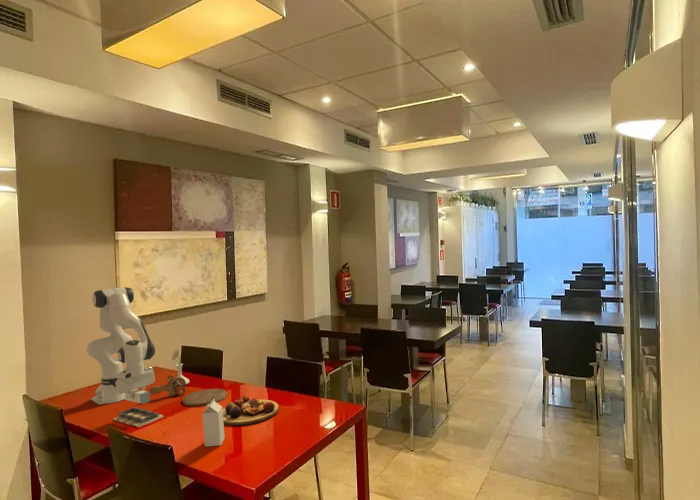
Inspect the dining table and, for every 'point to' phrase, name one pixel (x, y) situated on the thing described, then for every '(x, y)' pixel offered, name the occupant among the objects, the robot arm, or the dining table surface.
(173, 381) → the toy cannon
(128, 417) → the tray
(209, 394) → the trivet
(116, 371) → the robot arm
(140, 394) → the white rectangular block
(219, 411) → the milk carton
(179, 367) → the flower in vase
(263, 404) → the wooden plate with food
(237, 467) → the dining table surface
